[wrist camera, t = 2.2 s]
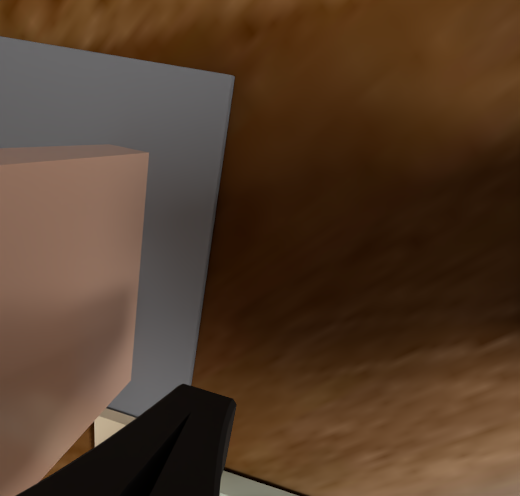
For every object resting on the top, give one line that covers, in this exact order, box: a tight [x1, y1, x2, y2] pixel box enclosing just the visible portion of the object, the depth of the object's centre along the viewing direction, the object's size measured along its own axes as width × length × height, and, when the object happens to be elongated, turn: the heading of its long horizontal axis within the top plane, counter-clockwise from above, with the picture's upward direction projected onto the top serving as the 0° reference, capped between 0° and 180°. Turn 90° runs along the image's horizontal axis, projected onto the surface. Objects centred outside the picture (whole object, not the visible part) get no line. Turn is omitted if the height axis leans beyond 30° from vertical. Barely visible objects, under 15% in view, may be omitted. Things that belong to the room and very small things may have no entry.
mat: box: [0, 36, 235, 418], centre depth 16 cm, size 15×16×1 cm
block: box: [0, 144, 149, 496], centre depth 12 cm, size 2×10×7 cm, turn 170°
